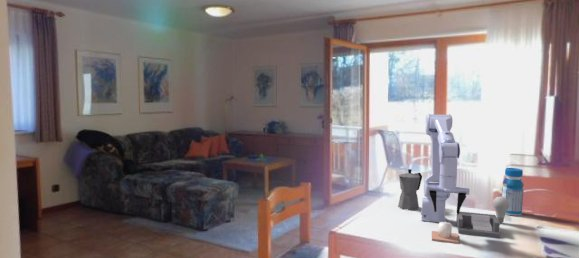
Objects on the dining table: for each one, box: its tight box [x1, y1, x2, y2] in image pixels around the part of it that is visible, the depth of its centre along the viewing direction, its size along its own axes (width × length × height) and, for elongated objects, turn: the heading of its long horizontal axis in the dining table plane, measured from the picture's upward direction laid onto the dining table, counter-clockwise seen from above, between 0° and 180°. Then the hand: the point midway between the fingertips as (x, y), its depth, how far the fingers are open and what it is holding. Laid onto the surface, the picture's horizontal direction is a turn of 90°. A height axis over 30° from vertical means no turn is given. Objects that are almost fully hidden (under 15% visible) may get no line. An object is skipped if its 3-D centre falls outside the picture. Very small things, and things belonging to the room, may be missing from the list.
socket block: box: [455, 210, 501, 239], centre depth 157 cm, size 14×13×5 cm
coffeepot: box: [397, 168, 423, 211], centre depth 188 cm, size 15×9×18 cm, turn 125°
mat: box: [431, 230, 460, 245], centre depth 148 cm, size 9×9×1 cm
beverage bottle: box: [501, 167, 525, 217], centre depth 180 cm, size 8×8×20 cm
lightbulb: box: [492, 195, 510, 224], centre depth 166 cm, size 6×6×11 cm
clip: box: [471, 214, 492, 232], centre depth 146 cm, size 6×8×3 cm
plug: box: [438, 221, 453, 238], centre depth 148 cm, size 4×4×5 cm
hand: (446, 212), depth 148 cm, fingers open, 7 cm apart
